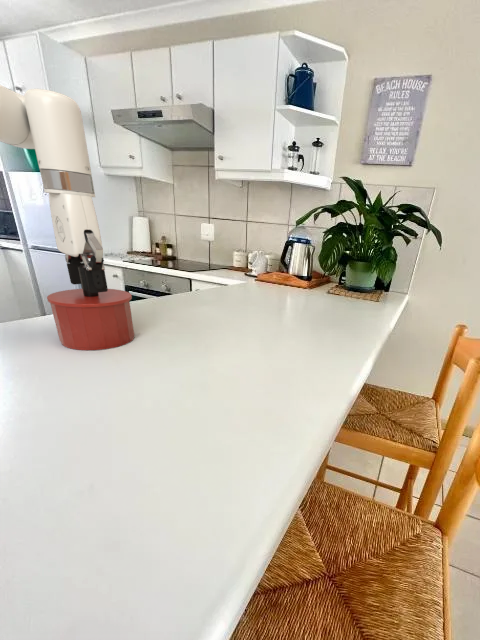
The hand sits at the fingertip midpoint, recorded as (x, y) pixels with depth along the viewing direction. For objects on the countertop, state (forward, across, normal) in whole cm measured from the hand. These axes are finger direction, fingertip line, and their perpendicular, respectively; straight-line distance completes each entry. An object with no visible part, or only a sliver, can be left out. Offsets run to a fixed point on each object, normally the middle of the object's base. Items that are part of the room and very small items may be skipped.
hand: (89, 287), depth 64 cm
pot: (+11, 0, 0) cm, 11 cm away
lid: (+2, 0, 0) cm, 2 cm away
